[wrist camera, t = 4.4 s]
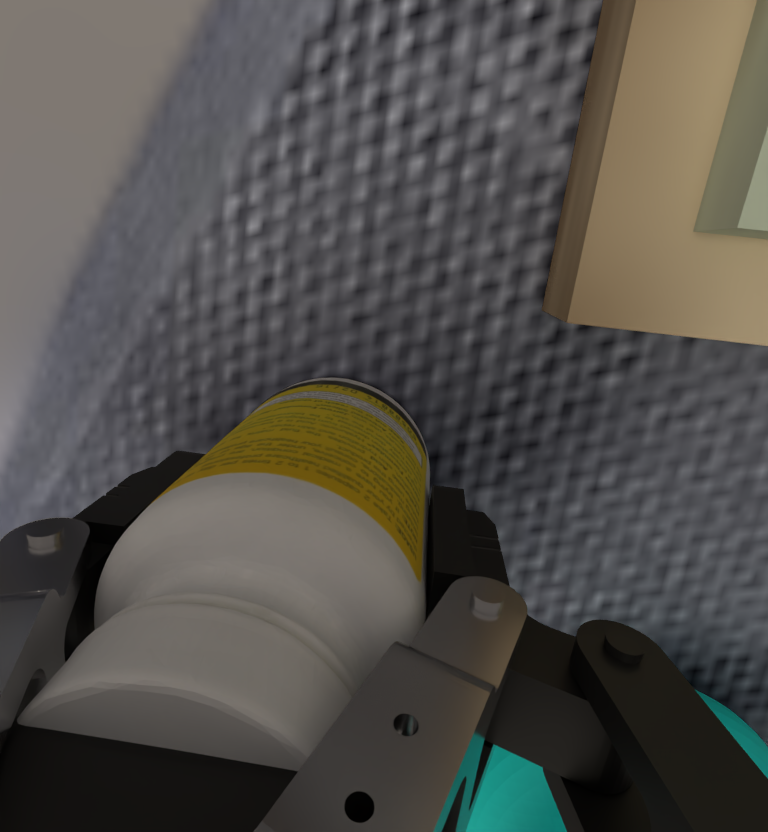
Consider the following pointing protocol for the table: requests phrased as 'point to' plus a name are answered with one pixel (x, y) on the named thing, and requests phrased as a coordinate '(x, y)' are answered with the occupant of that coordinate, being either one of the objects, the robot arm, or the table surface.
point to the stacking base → (670, 175)
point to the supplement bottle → (258, 585)
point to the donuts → (530, 794)
